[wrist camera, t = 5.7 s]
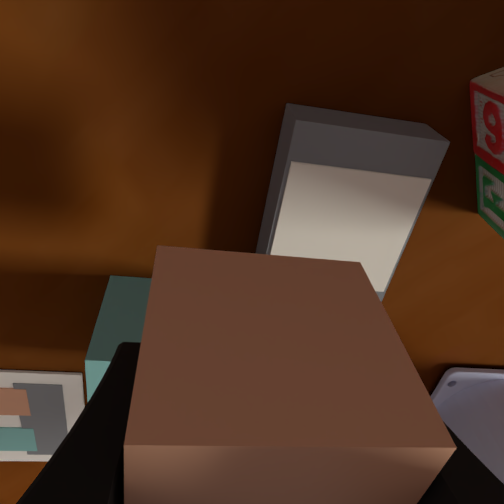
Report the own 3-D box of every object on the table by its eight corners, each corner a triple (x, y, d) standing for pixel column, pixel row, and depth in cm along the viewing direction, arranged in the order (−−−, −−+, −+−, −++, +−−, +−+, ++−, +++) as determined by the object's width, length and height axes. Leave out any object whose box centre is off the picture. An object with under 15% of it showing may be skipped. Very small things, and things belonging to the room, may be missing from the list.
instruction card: (88, 458, 27) (87, 462, 27) (-17, 458, 26) (-18, 462, 26) (82, 372, 22) (80, 376, 22) (-44, 367, 21) (-47, 371, 21)
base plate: (324, 382, 25) (334, 414, 23) (229, 378, 24) (231, 411, 22) (425, 123, 16) (451, 142, 15) (286, 103, 16) (296, 120, 14)
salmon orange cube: (313, 391, 13) (361, 581, 9) (150, 386, 13) (124, 592, 9) (360, 261, 11) (457, 448, 7) (157, 245, 10) (123, 445, 6)
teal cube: (210, 356, 23) (210, 444, 19) (112, 352, 22) (90, 442, 18) (221, 282, 20) (226, 366, 16) (110, 274, 19) (84, 360, 15)
